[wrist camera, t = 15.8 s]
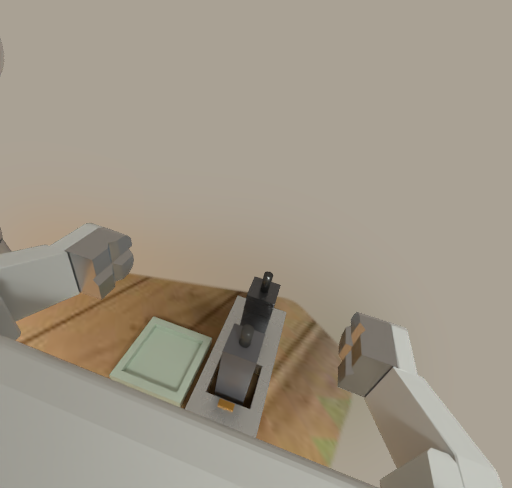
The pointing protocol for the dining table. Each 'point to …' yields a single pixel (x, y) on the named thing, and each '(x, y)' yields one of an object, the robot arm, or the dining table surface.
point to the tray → (163, 361)
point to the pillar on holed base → (270, 323)
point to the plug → (238, 363)
